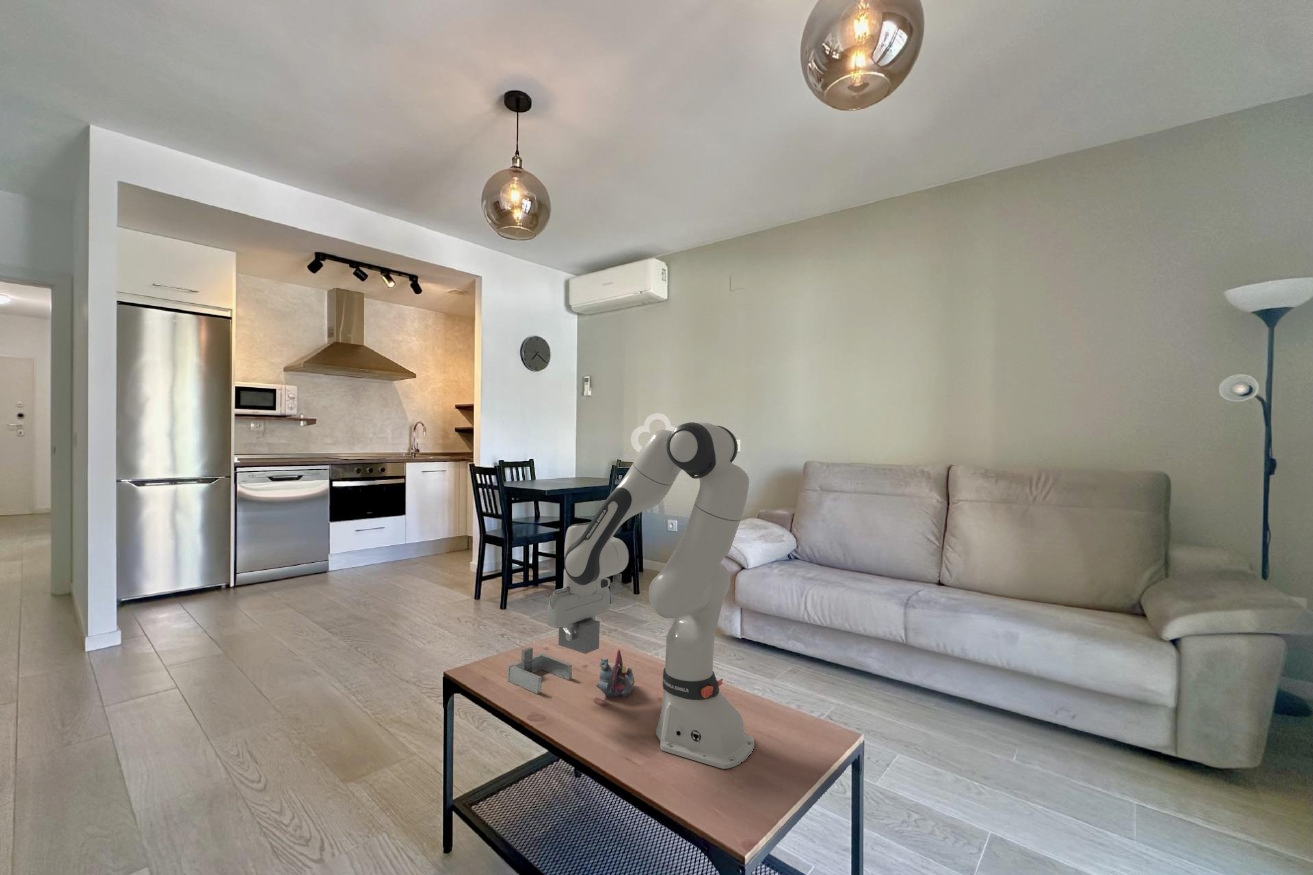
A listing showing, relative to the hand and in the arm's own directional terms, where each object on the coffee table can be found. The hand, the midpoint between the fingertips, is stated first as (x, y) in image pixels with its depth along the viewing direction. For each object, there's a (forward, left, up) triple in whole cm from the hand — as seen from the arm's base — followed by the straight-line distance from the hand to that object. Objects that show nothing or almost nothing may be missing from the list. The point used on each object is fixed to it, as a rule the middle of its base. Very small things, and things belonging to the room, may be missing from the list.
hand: (578, 636), depth 139 cm
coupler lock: (0, 0, -3) cm, 3 cm away
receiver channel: (+14, 0, -15) cm, 21 cm away
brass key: (+2, -17, -15) cm, 23 cm away
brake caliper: (-6, -9, -16) cm, 19 cm away
